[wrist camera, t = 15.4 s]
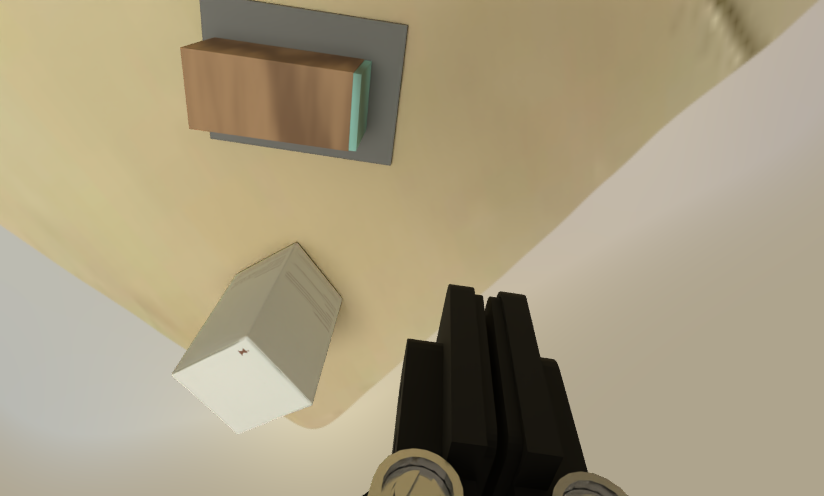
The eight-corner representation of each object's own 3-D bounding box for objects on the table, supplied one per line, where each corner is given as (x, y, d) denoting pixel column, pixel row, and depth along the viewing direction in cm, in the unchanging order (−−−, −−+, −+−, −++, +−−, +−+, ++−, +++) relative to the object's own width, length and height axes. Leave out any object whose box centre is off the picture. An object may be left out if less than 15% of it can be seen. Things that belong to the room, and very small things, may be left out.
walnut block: (361, 73, 29) (180, 47, 29) (355, 152, 32) (189, 128, 31) (371, 60, 33) (214, 37, 33) (366, 130, 36) (219, 109, 36)
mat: (407, 24, 33) (407, 25, 32) (390, 163, 38) (390, 165, 37) (202, -8, 32) (199, -8, 32) (213, 136, 37) (210, 138, 37)
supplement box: (234, 273, 44) (165, 373, 33) (298, 239, 42) (247, 335, 31) (283, 329, 47) (235, 438, 36) (345, 300, 45) (314, 407, 34)
